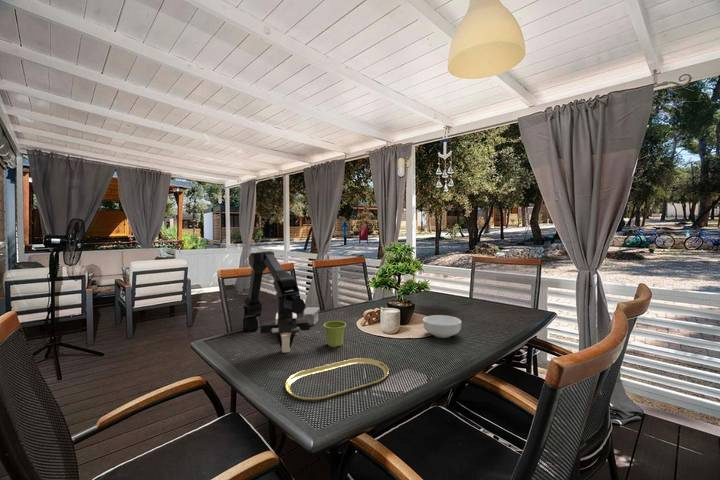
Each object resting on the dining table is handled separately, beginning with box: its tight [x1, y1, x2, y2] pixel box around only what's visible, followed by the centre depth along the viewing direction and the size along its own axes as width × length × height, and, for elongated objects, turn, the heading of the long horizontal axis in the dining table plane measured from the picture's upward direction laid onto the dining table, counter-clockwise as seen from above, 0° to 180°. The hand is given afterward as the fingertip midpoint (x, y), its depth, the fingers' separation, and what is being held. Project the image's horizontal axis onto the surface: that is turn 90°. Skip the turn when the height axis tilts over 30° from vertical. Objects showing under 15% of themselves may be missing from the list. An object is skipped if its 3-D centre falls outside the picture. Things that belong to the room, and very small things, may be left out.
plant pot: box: [323, 320, 347, 348], centre depth 132 cm, size 9×9×9 cm
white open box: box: [275, 312, 298, 336], centre depth 149 cm, size 9×10×8 cm
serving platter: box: [284, 357, 390, 401], centre depth 103 cm, size 19×35×2 cm, turn 120°
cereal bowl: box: [422, 314, 462, 339], centre depth 144 cm, size 17×17×7 cm
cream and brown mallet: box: [281, 332, 291, 354], centre depth 133 cm, size 5×18×6 cm, turn 12°
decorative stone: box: [302, 306, 320, 327], centre depth 164 cm, size 15×7×10 cm
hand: (285, 347), depth 125 cm, fingers closed on cream and brown mallet, 3 cm apart
